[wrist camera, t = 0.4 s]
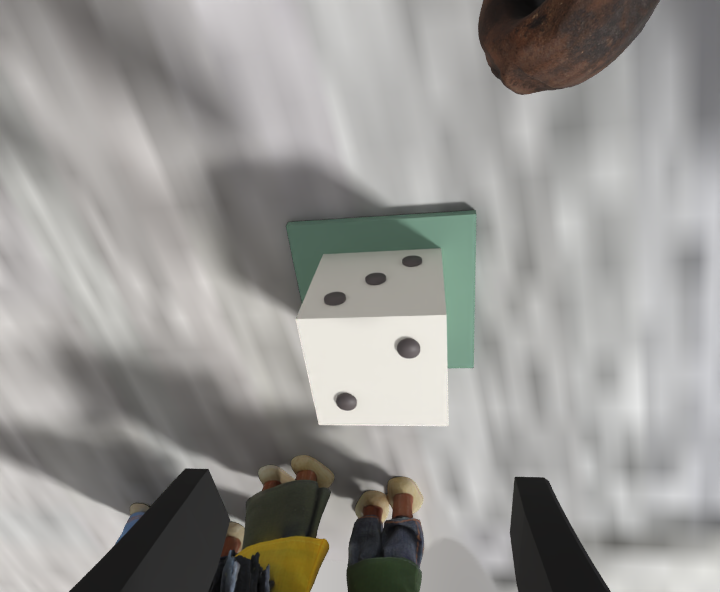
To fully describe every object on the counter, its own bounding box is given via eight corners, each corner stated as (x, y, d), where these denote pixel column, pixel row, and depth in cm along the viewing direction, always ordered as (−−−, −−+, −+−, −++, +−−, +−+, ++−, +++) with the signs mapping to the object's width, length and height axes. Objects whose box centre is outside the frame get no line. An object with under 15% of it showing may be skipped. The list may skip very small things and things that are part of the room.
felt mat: (475, 210, 16) (476, 214, 16) (472, 362, 20) (473, 367, 20) (288, 221, 18) (286, 226, 17) (317, 363, 21) (315, 369, 21)
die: (441, 245, 17) (446, 313, 13) (443, 345, 19) (448, 428, 15) (320, 252, 18) (290, 318, 14) (336, 347, 20) (315, 427, 16)
